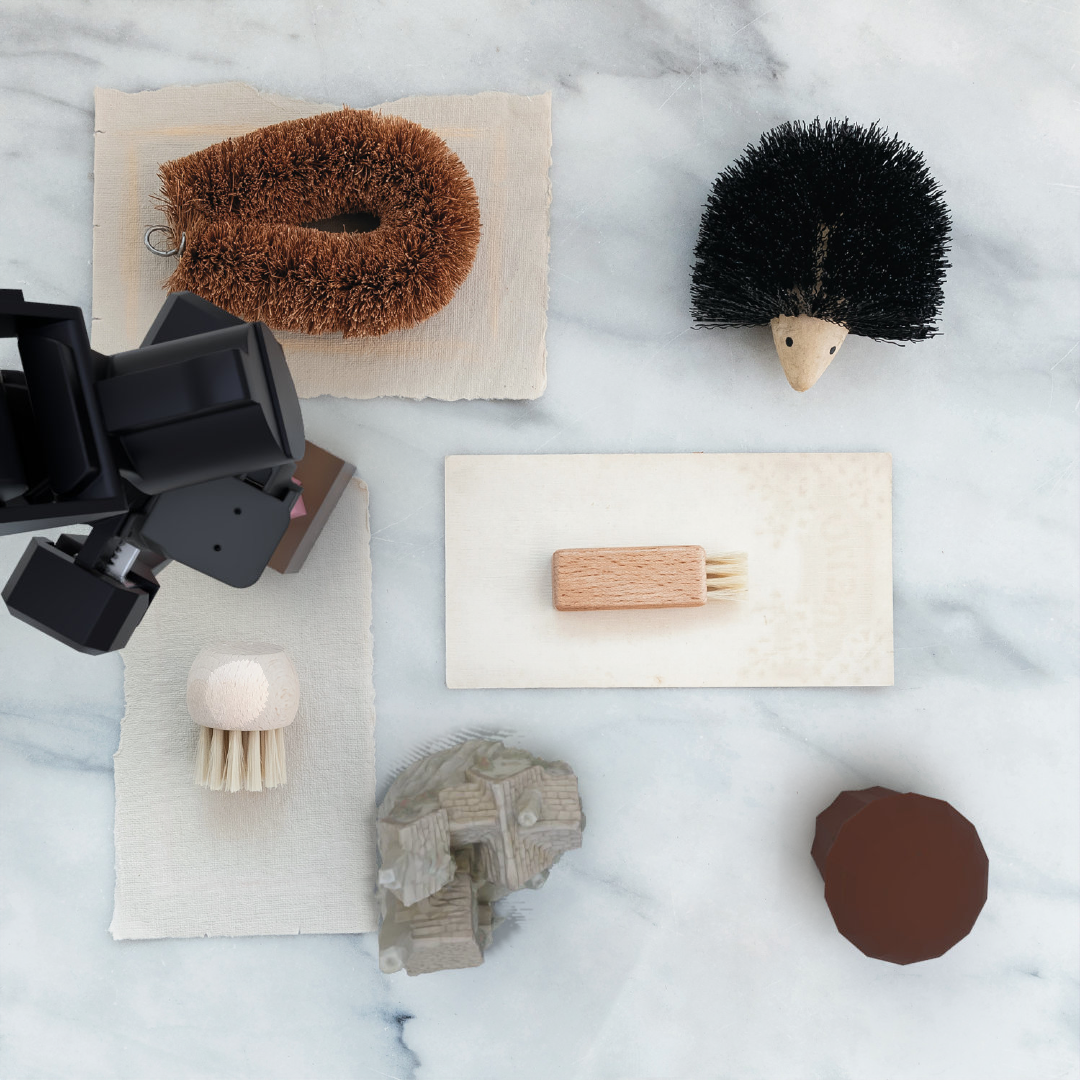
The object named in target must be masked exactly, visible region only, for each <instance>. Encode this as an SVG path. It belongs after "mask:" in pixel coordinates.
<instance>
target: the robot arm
mask: <svg viewBox="0 0 1080 1080" xmlns="http://www.w3.org/2000/svg"><path fill="white" fill-rule="evenodd" d="M85 321H86V320H85V317H84V313H83V309H82V307H80V306H77V305H69V304H58V303H49V302H39V301H38V302H37V301H28V300H25V297H24V292H23V289H22V288H0V339H14V338H15V339H16V341H17V343H16V344H17V351H18V354H19V359H20V361H21V362H20V363H21V366H22V370H17V369H4V368H3V369H0V537H5V536H12V535H17V534H18V535H19V534H25V533H31V532H36V531H37V532H38V531H44V530H50V529H55V528H62V527H70V526H74V525H87V526H90V527H91V530H90V532H89V533H88V534H87V535H86V534H78V533H77V534H75V533H64V532H63V533H60V535H59V537H58V538H57V540H56V542H55V541H53V540H51V539H49V538H48V537H45V536H32V537H31V539H30V540H29V543H28V544H27V546H26V548H25V550H24V552H23V553H22V555H21V557H20V559H19V560H18V562H17V564H16V566H15V567H14V569H13V571H12V573H11V575H10V576H9V578H8V580H7V582H6V583H5V585H4V587H3V589H2V590H1V593H0V596H1V598H2V600H3V602H4V604H5V606H6V608H7V610H8V612H9V615H10V616H12V617H14V618H16V619H18V620H19V621H21V622H22V623H25V624H27V625H28V626H30V627H32V628H34V629H35V630H38V631H40V632H41V633H43V634H45V635H47V636H49V637H51V638H53V639H54V640H56V641H58V642H60V643H61V644H64V646H65V645H66V646H67V647H69V648H70V649H73V650H74V651H77V652H79V653H82V654H86V655H90V656H94V657H96V656H101V655H104V654H109V653H112V652H116V651H119V650H123V649H125V648H126V647H127V645H128V643H129V641H130V639H131V638H132V636H133V634H134V633H135V630H136V629H137V627H139V625H140V624H141V622H142V621H143V619H144V617H145V615H146V613H147V611H148V609H149V608H150V606H151V605H152V602H153V601H154V599H155V597H156V596H157V593H158V592H159V590H160V588H161V584H160V583H159V581H158V580H157V577H156V576H158V575H160V573H161V572H162V571H163V570H164V569H166V567H168V566H169V565H170V564H171V563H172V562H173V561H175V562H177V563H179V564H182V565H184V566H186V567H188V568H189V569H192V570H194V571H197V572H199V573H201V574H203V575H205V576H206V577H207V576H208V577H210V578H212V579H214V580H216V581H218V582H221V583H222V584H224V585H227V586H229V587H231V588H235V589H247V588H250V587H252V586H253V585H255V584H257V582H258V581H259V580H260V579H261V577H262V575H263V573H264V572H265V570H266V568H267V567H268V566H267V564H268V563H269V561H270V559H271V557H272V555H273V554H274V552H275V550H276V548H277V546H278V545H279V543H280V541H281V539H282V537H283V536H284V534H285V532H286V530H287V528H288V526H289V524H290V520H291V515H290V513H291V511H292V509H293V508H294V506H295V504H296V502H297V500H298V499H299V497H300V495H301V493H302V492H303V490H304V488H303V487H301V486H300V485H298V484H296V483H294V482H293V481H292V476H293V474H294V472H295V470H296V468H297V466H296V463H294V462H295V461H299V460H302V458H303V456H304V452H305V439H306V434H305V433H306V432H305V425H304V420H303V413H302V409H301V405H300V400H299V396H298V393H297V389H296V386H295V382H294V379H293V377H292V374H291V371H290V367H289V365H288V363H287V358H286V355H285V351H284V348H283V345H282V344H281V342H279V341H278V340H277V339H276V337H275V335H274V333H273V332H272V330H271V329H270V327H269V326H268V325H267V324H266V323H265V322H264V321H262V320H259V321H258V320H257V321H251V322H247V321H246V320H244V319H242V318H240V317H239V316H236V315H235V314H233V313H231V312H229V311H227V310H225V309H224V308H222V307H220V306H218V305H216V304H215V303H212V302H211V301H209V300H208V299H205V298H204V297H202V296H200V295H199V294H196V293H195V292H193V291H190V290H187V289H185V290H179V291H173V292H169V293H168V295H167V297H166V299H165V300H164V303H163V304H162V306H161V308H160V310H159V312H158V313H157V315H156V317H155V318H154V320H153V322H152V324H151V325H150V327H149V329H148V331H147V333H146V335H144V338H143V340H142V341H141V343H140V345H139V347H138V348H135V349H130V350H126V351H122V352H117V353H112V354H108V355H106V354H104V353H101V352H99V351H97V350H95V349H93V348H92V347H91V342H90V338H89V334H88V328H87V325H86V322H85Z"/></svg>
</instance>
